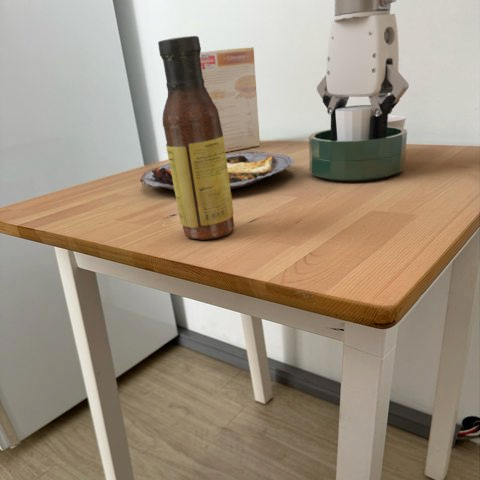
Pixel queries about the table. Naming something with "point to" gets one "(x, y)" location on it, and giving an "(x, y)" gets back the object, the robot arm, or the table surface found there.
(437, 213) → the table surface
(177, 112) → the sauce bottle
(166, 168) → the food plate
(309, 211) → the table surface
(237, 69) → the coffeecake box
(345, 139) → the white faceted cup
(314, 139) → the green round tub
